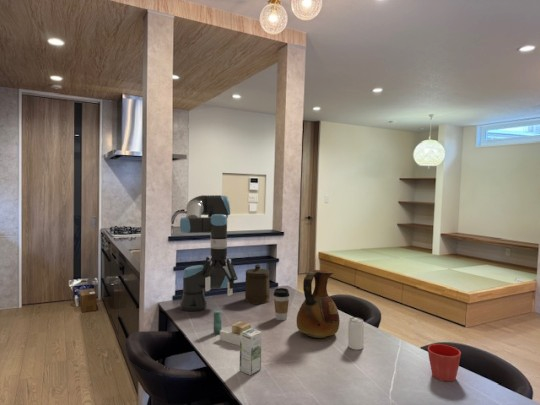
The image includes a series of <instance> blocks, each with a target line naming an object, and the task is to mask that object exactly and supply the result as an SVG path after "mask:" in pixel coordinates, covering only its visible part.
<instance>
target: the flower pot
mask: <svg viewBox="0 0 540 405" xmlns="http://www.w3.org/2000/svg"><path fill="white" fill-rule="evenodd" d="M427 354H428V359H429V364H430V371H431V375H432V377H433V378H434V379H436V380H438V381H441V382H454V381H456V379H457V375H458V370H459V367H460V360H461V356H462V352H461V350H459V349H458V348H457V347H454V346H451V345H447V344H443V343H442V344H441V343H439V344H437V343H434V344H430V345H429V346H428V347H427Z"/></svg>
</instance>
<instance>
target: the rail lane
mask: <svg viewBox="0 0 540 405" xmlns="http://www.w3.org/2000/svg"><path fill="white" fill-rule="evenodd" d="M251 329H253V328H252V327H251ZM254 329H255V328H254ZM255 330H258V331H260V330H259V329H255ZM219 340H220V341H224V342H226V343H229V344H233V345H236V346H239V347H240V335H237V334H234V333H232V332H230V331H227V330H223V329H221V331H220V334H219Z"/></svg>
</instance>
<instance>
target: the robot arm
mask: <svg viewBox="0 0 540 405" xmlns="http://www.w3.org/2000/svg"><path fill="white" fill-rule="evenodd" d="M230 215H231V208H230V200H229V197H228V196H227V195H218V194H217V195H212V194H211V195H204V194H203V195H202V194H201V195H198V196H194V198H191V199H190V200H189V201H188V202H187V204H186V215H185V217H181V218H180V220H179V229H180V230H179V231H180V233H182V234H202V233H203V234H209V233H210V256H206V258H205V263H204V265H203V264H202V265H201V264H199V265H191V266H187V267H186V268H184V270H183V273H182V297H181V300H180V303H179V308H180V310H182V311H186V312H197V311H199V312H200V311H202V310H204V309H207V307H208V302H207V300H206V297H205V296H206V295H205V292H209V291H211V290H212V289H213V290H214V289H226V288H227V297H230V296H232V295H233V293H234V292H233V290H234V287H235V286H234V285H235V281H237V280H238V275H237V273H236V271H235V270H236V269H235V266H234V265H233V259H232V258H229V259H227V256H228V218H229V216H230ZM202 216H203V217H202ZM204 216H207V217H204Z"/></svg>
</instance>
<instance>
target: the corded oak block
mask: <svg viewBox="0 0 540 405" xmlns="http://www.w3.org/2000/svg"><path fill="white" fill-rule="evenodd" d="M222 314H223V313H222V310H214V311H213V335H219V336H220V331H221V330H222V318H223V316H222ZM251 325H252V324H251V323H248V322H245V321H240V320H239V321H238V322H235V323H233V324H232V325H231V333H234V334H237V335H240V333H241V332H243V331H246V330H248V329H250V328H252V327H251Z"/></svg>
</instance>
